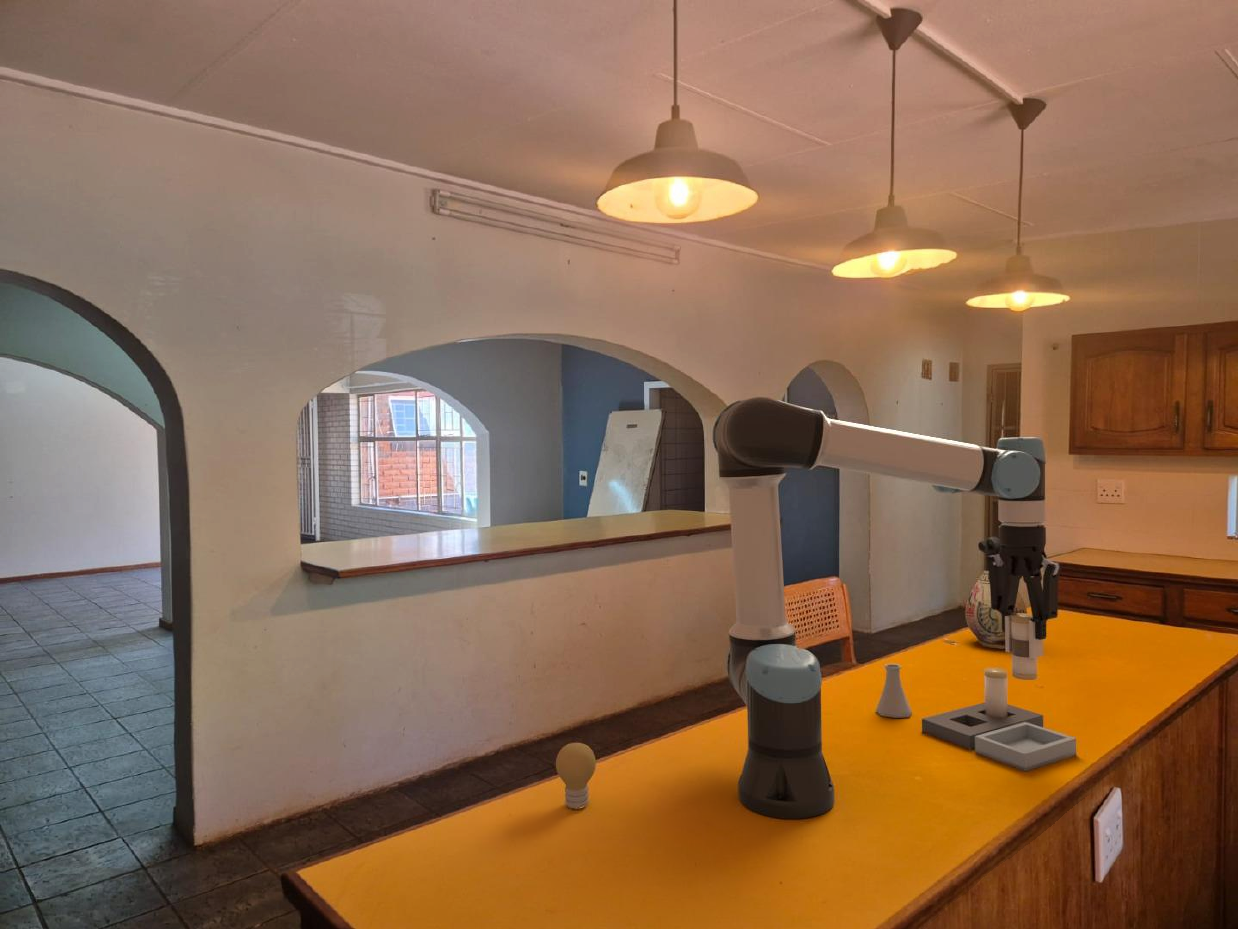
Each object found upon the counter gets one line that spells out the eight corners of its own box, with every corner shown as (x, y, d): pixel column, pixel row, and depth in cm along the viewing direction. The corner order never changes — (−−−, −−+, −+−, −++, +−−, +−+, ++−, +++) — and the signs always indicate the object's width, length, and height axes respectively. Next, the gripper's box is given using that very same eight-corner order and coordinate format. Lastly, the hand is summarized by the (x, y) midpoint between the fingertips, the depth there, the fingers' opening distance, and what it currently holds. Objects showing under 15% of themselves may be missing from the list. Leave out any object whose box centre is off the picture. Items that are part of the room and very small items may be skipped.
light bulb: (559, 797, 134) (557, 737, 133) (598, 797, 134) (596, 736, 133) (554, 815, 127) (553, 752, 127) (595, 815, 127) (594, 751, 127)
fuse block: (969, 749, 149) (969, 736, 149) (922, 731, 159) (921, 718, 159) (1043, 728, 159) (1043, 715, 159) (994, 712, 169) (993, 700, 169)
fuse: (998, 730, 158) (997, 674, 158) (980, 724, 162) (980, 669, 161) (1012, 727, 160) (1011, 671, 160) (994, 721, 164) (993, 666, 163)
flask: (914, 720, 166) (913, 671, 165) (877, 718, 167) (876, 670, 167) (909, 708, 173) (908, 661, 172) (873, 707, 174) (872, 660, 174)
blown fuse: (1027, 681, 144) (1026, 619, 143) (1007, 675, 147) (1006, 615, 147) (1042, 677, 145) (1041, 616, 145) (1021, 672, 149) (1020, 612, 149)
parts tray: (1025, 771, 139) (1024, 754, 139) (975, 752, 148) (974, 736, 148) (1076, 755, 145) (1076, 738, 145) (1025, 737, 154) (1025, 722, 154)
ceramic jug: (958, 638, 231) (957, 532, 230) (1016, 638, 228) (1015, 531, 228) (976, 653, 214) (975, 539, 213) (1039, 654, 212) (1037, 539, 211)
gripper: (1081, 525, 140) (1083, 661, 140) (994, 518, 155) (996, 641, 155) (1053, 529, 136) (1055, 668, 137) (967, 521, 151) (969, 647, 152)
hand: (1024, 653), depth 146 cm, fingers closed on blown fuse, 4 cm apart
